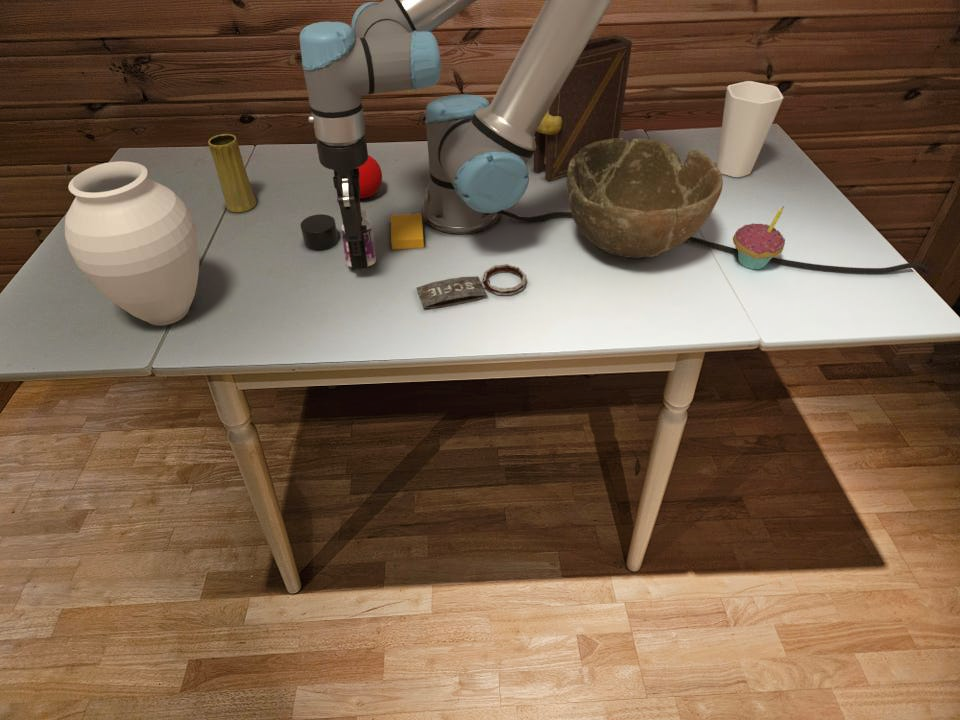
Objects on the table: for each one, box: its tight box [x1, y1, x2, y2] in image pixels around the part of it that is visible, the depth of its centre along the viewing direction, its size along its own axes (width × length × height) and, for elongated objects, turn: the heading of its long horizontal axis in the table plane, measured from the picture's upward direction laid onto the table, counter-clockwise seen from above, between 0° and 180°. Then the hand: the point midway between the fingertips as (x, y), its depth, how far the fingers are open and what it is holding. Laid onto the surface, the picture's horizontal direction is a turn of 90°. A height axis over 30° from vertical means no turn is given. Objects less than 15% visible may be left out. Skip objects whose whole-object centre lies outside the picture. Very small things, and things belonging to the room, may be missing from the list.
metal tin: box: [300, 213, 339, 252], centre depth 124 cm, size 6×6×4 cm
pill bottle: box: [340, 208, 377, 268], centre depth 116 cm, size 5×5×10 cm
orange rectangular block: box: [390, 212, 425, 250], centre depth 126 cm, size 6×9×2 cm, turn 6°
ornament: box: [358, 154, 383, 199], centre depth 134 cm, size 9×9×10 cm
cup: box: [716, 80, 784, 178], centre depth 138 cm, size 11×10×17 cm
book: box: [532, 34, 633, 182], centre depth 137 cm, size 22×8×25 cm, turn 120°
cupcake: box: [732, 205, 786, 270], centre depth 115 cm, size 9×8×12 cm
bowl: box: [566, 137, 724, 259], centre depth 119 cm, size 28×27×15 cm
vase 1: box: [64, 161, 200, 327], centre depth 102 cm, size 18×18×25 cm
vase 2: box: [207, 133, 257, 214], centre depth 131 cm, size 6×6×14 cm
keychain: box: [415, 263, 527, 309], centre depth 113 cm, size 8×19×2 cm, turn 106°
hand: (359, 266), depth 115 cm, fingers closed
